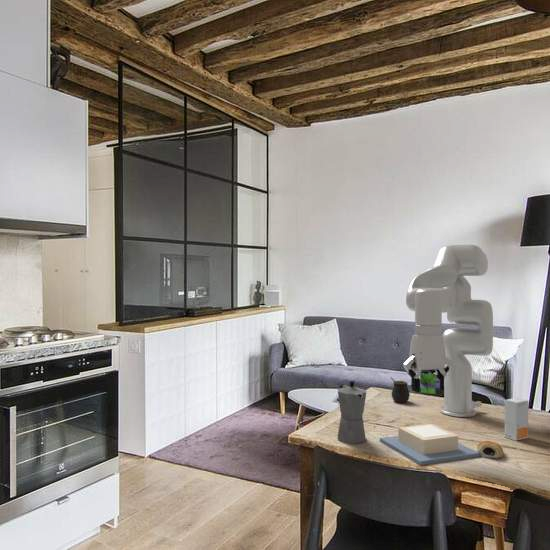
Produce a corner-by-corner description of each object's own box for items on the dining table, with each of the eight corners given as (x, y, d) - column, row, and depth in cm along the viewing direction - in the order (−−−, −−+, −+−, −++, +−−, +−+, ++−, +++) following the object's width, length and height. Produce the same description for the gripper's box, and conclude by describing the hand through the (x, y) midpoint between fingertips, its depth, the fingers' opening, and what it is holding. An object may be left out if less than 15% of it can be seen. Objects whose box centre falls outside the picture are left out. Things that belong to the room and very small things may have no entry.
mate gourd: (412, 403, 193) (412, 378, 193) (393, 404, 192) (393, 379, 192) (406, 399, 200) (406, 375, 200) (388, 399, 200) (388, 375, 200)
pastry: (479, 446, 145) (479, 434, 145) (504, 450, 141) (504, 437, 141) (476, 456, 136) (476, 443, 136) (502, 461, 133) (502, 447, 133)
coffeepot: (375, 444, 145) (375, 384, 145) (346, 447, 143) (346, 386, 143) (353, 429, 160) (353, 374, 160) (326, 431, 157) (327, 376, 157)
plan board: (433, 434, 155) (433, 418, 155) (479, 456, 136) (479, 438, 136) (379, 441, 148) (379, 424, 148) (420, 465, 129) (420, 446, 129)
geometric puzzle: (439, 392, 136) (440, 366, 140) (414, 390, 138) (415, 365, 143) (440, 402, 141) (440, 377, 146) (415, 400, 144) (417, 375, 148)
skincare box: (516, 441, 149) (516, 402, 149) (504, 437, 153) (504, 399, 153) (528, 438, 152) (529, 400, 152) (516, 434, 155) (516, 397, 156)
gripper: (443, 328, 149) (443, 385, 149) (395, 330, 143) (395, 389, 143) (460, 331, 142) (460, 391, 141) (410, 333, 136) (410, 395, 136)
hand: (427, 390), depth 142 cm, fingers closed on geometric puzzle, 7 cm apart
